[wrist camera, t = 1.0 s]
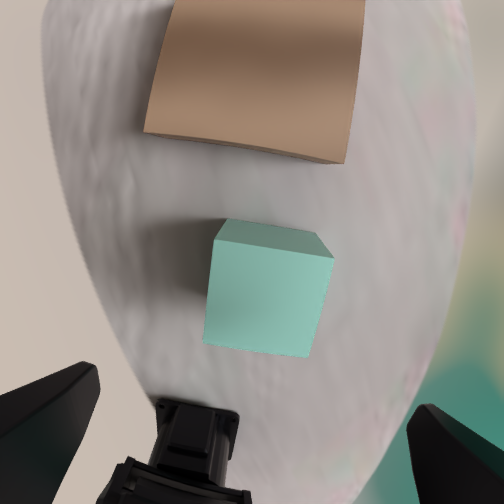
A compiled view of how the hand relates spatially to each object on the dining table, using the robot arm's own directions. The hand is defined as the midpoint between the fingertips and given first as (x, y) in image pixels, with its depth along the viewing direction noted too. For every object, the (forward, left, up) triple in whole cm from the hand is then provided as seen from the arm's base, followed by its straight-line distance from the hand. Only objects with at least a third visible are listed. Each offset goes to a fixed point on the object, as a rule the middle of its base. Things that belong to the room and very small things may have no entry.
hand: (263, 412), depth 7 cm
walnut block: (+11, +2, -12) cm, 16 cm away
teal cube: (0, 0, -11) cm, 11 cm away
